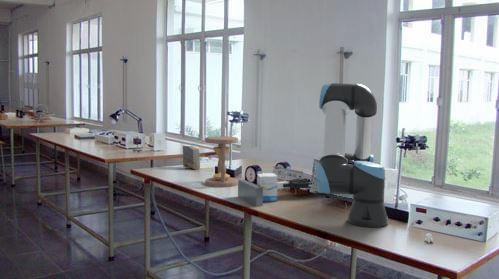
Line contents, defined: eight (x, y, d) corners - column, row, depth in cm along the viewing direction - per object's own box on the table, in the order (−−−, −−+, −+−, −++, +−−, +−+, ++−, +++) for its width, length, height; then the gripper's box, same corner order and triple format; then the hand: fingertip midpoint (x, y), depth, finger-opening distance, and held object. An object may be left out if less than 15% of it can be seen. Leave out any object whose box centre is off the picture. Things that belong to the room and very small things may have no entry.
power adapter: (431, 241, 160) (432, 232, 160) (434, 244, 157) (435, 235, 157) (422, 241, 160) (423, 232, 160) (425, 244, 157) (425, 235, 157)
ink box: (277, 201, 214) (277, 176, 212) (259, 201, 213) (259, 176, 211) (274, 197, 222) (274, 172, 221) (256, 197, 221) (256, 173, 220)
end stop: (266, 205, 206) (266, 187, 206) (256, 206, 204) (256, 188, 203) (247, 195, 224) (247, 179, 224) (237, 196, 222) (238, 180, 221)
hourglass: (236, 187, 243) (237, 139, 240) (203, 187, 243) (203, 139, 241) (238, 181, 260) (238, 136, 258) (207, 180, 261) (207, 136, 258)
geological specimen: (200, 169, 297) (200, 146, 295) (192, 170, 293) (192, 146, 291) (189, 167, 305) (189, 144, 303) (182, 168, 300) (182, 145, 299)
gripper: (325, 192, 224) (282, 196, 214) (311, 186, 236) (269, 190, 226) (326, 176, 223) (283, 180, 213) (311, 172, 235) (269, 175, 225)
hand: (276, 185), depth 220 cm, fingers closed
